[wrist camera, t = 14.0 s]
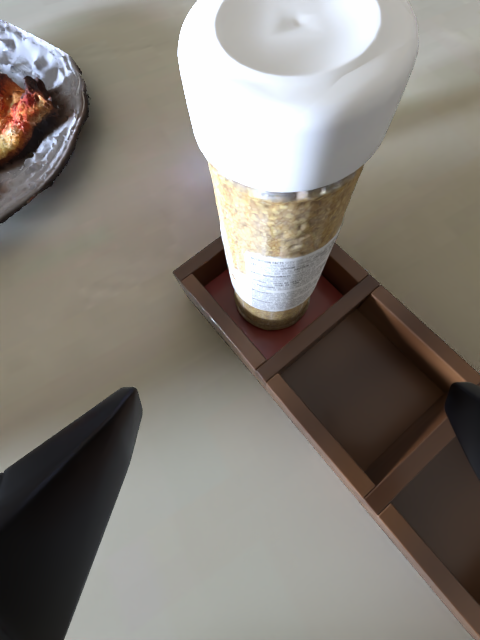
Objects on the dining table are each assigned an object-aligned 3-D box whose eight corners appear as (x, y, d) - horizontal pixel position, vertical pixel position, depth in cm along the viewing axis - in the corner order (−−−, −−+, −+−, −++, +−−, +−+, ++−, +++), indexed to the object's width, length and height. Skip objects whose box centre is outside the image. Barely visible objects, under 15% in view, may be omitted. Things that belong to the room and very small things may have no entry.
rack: (573, 510, 15) (659, 535, 12) (467, 632, 14) (530, 698, 11) (276, 225, 21) (279, 191, 18) (186, 295, 20) (171, 271, 17)
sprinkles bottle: (236, 262, 19) (183, -49, 6) (309, 262, 19) (411, -67, 6) (232, 332, 18) (157, 116, 5) (311, 334, 17) (451, 104, 5)
